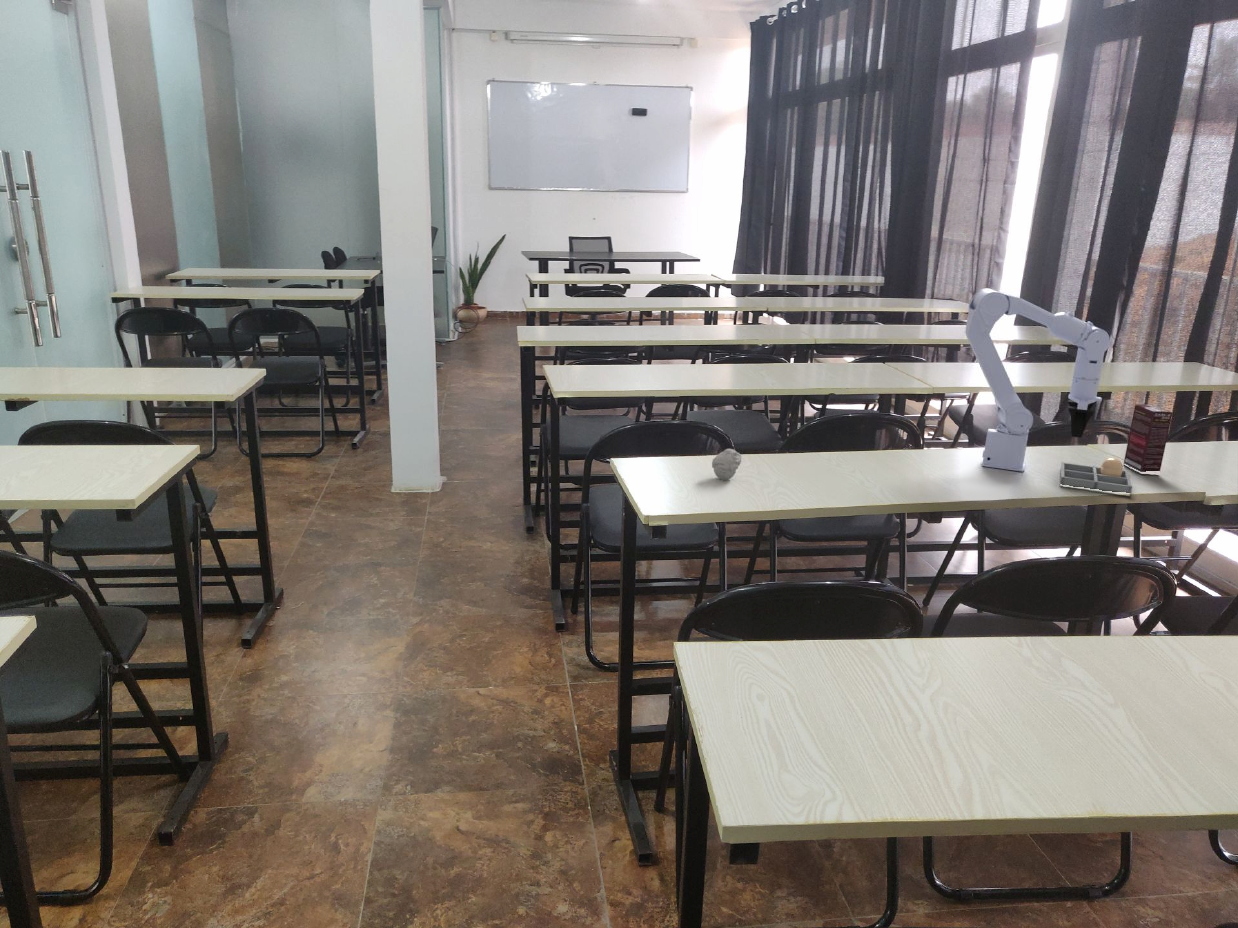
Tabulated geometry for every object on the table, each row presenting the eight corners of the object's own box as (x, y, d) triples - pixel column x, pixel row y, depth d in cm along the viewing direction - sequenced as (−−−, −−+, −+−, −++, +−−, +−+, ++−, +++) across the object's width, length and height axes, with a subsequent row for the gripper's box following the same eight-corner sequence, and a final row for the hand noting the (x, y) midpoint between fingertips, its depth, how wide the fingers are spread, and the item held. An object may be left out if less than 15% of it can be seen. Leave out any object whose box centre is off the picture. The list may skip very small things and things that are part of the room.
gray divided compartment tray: (1059, 486, 204) (1061, 477, 204) (1060, 471, 217) (1061, 462, 216) (1129, 496, 199) (1131, 486, 198) (1126, 480, 211) (1127, 471, 210)
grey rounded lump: (745, 481, 201) (747, 451, 199) (719, 484, 198) (721, 454, 196) (731, 473, 206) (733, 444, 204) (705, 476, 203) (706, 447, 201)
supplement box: (1160, 476, 215) (1174, 412, 211) (1140, 475, 216) (1153, 411, 211) (1141, 466, 224) (1153, 404, 219) (1121, 465, 224) (1134, 403, 219)
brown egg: (1099, 479, 208) (1103, 459, 207) (1099, 474, 212) (1102, 454, 210) (1121, 482, 206) (1125, 461, 205) (1119, 477, 210) (1123, 457, 209)
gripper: (1106, 384, 203) (1095, 442, 207) (1103, 375, 216) (1093, 429, 220) (1072, 381, 206) (1062, 438, 210) (1071, 372, 219) (1062, 425, 222)
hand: (1076, 433), depth 215 cm, fingers open, 7 cm apart
